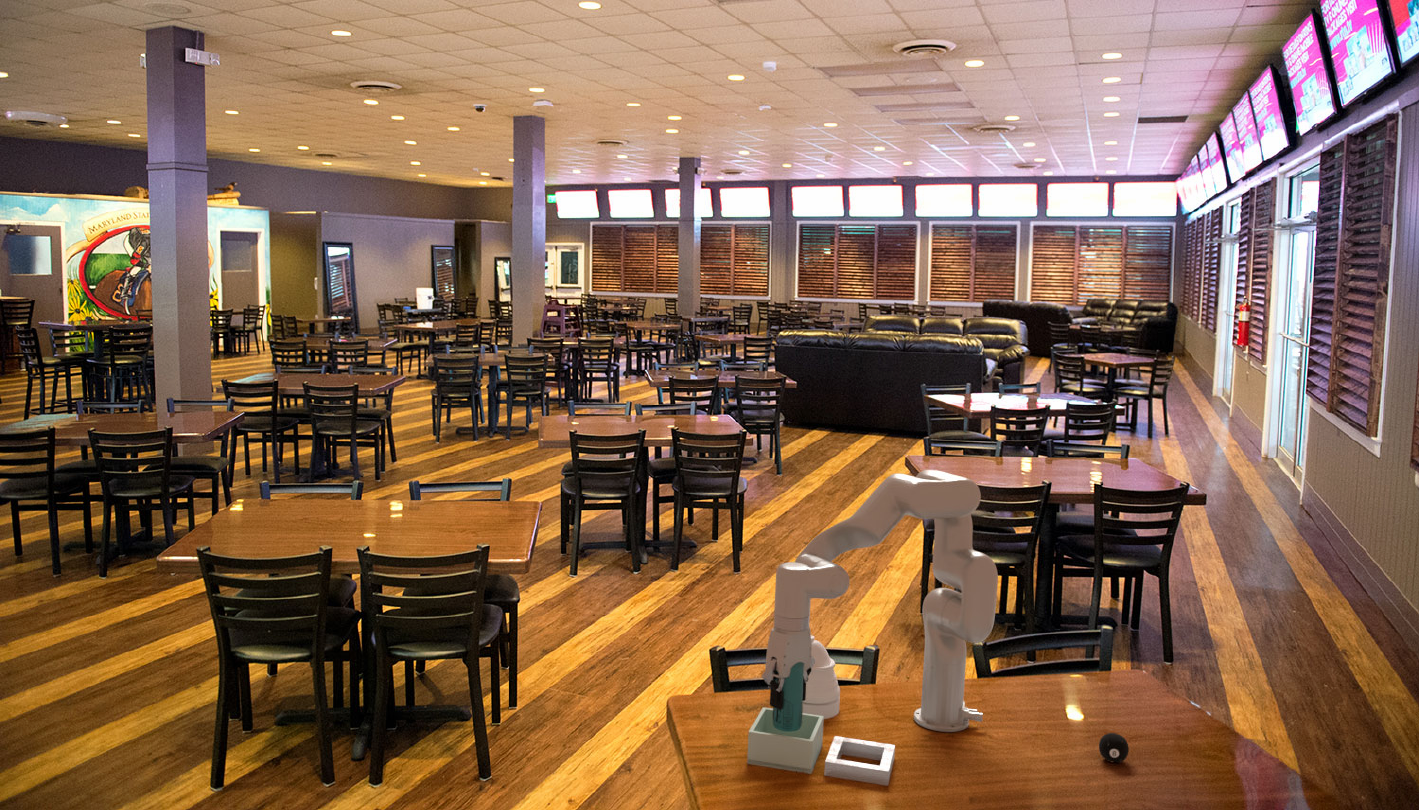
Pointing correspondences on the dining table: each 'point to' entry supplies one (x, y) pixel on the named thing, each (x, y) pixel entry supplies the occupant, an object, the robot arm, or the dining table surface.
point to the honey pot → (821, 684)
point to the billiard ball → (1113, 747)
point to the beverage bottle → (790, 701)
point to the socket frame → (856, 769)
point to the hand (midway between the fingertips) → (787, 702)
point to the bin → (785, 743)
